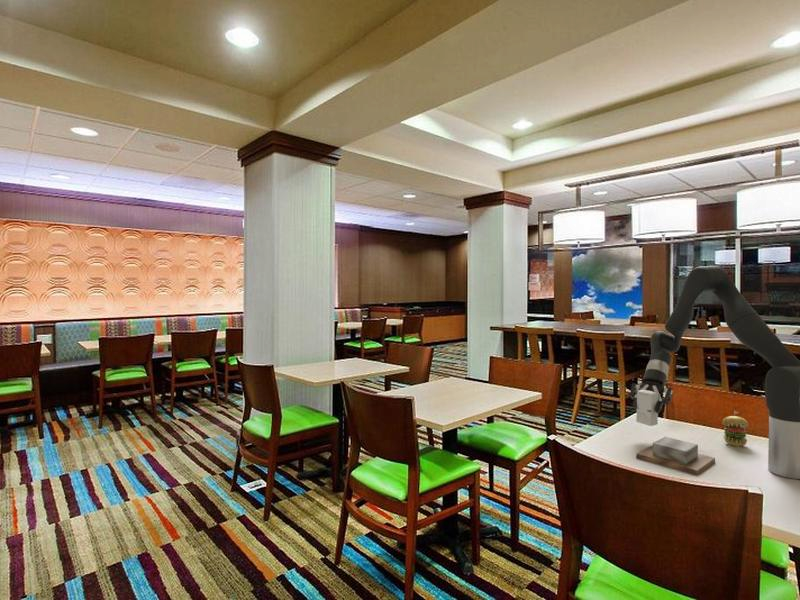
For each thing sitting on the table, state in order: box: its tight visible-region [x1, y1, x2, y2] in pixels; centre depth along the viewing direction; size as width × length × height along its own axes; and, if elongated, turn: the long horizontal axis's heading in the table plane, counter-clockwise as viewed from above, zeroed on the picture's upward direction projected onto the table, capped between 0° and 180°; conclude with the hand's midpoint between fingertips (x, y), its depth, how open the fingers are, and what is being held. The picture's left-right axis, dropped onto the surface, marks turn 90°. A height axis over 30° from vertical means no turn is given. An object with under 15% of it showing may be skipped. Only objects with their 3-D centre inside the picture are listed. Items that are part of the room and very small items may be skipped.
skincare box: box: [635, 389, 659, 427], centre depth 166 cm, size 6×4×12 cm
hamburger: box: [722, 410, 749, 447], centre depth 162 cm, size 8×7×12 cm
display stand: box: [636, 436, 716, 476], centre depth 148 cm, size 18×16×6 cm
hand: (645, 409), depth 165 cm, fingers closed on skincare box, 6 cm apart
